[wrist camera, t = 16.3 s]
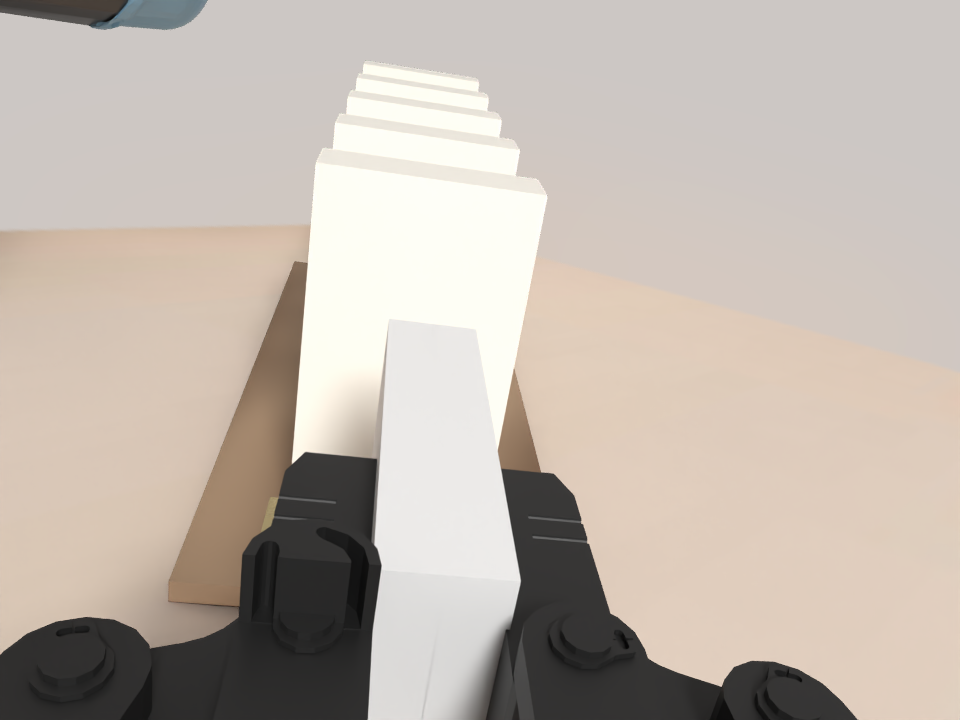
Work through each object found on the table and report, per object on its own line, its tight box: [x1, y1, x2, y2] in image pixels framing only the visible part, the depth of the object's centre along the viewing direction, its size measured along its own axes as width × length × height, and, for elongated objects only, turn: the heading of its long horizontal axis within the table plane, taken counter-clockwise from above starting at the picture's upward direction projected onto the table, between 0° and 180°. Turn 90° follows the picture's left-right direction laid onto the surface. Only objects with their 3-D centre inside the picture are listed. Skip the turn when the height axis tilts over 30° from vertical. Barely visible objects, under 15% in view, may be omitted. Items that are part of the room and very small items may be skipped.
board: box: [168, 262, 541, 606], centre depth 32 cm, size 10×24×1 cm, turn 3°
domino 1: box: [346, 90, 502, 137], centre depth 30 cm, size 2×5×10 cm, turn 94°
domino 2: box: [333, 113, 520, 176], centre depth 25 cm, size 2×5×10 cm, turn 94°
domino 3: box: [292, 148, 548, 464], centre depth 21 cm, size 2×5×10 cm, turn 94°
